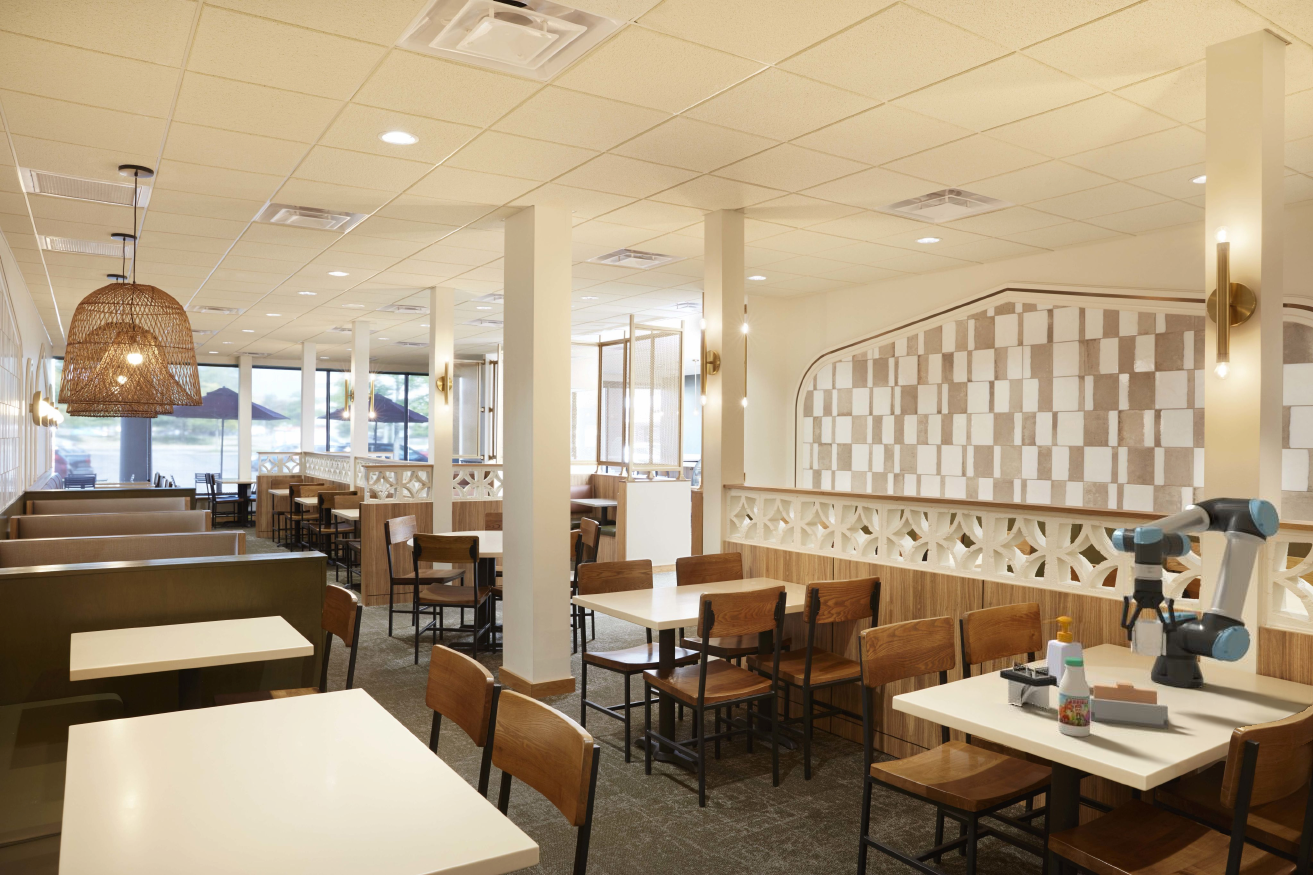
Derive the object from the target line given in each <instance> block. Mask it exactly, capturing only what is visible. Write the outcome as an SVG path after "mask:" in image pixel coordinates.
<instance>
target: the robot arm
mask: <svg viewBox="0 0 1313 875" xmlns="http://www.w3.org/2000/svg"><path fill="white" fill-rule="evenodd" d="M1279 526H1280V518H1279V513H1278V512H1277V508H1276V507H1275V506H1274V504H1272V503H1271V502H1270V501H1268V500H1265V499H1257V498H1237V497H1236V498H1235V497H1215V498H1209V499H1206V500H1202V501H1199V502H1196V503H1193V504H1189V505H1187V506H1186V507H1184V508H1183V510H1182V511H1180V512H1177V513H1174V514H1171V515H1168V516H1165V517H1162V518H1160V519H1156V520H1154V521H1151V522H1148V523H1144V524H1143V525H1140V526H1137V527H1134V528H1127V527H1126V528H1125V527H1124V528H1118V529H1116V530H1114V532H1113V533H1112V537H1111V540H1112V541H1111V542H1112V546H1113V548H1114V549H1115V550H1117V551H1119V552H1123V553H1130V554H1131V553H1132V554H1134V568H1133V569H1134V571H1133V572H1134V574H1133V575H1134V576H1135V578H1134V581H1133V582H1134V584H1133V585H1134V586H1133V587H1134V588H1133V589H1134V591H1133V593H1132V594H1127V595H1126V594H1124V595H1122V600H1123V607H1122V612H1121V619H1120V624H1119V625H1120V627H1121V628H1122V629H1125V630H1126V639H1127V641H1128V642H1130V652H1131V653H1133V654H1135V653H1136V652H1135V631H1134V625H1135V621H1137V619H1139V616H1140V614H1141V612H1142V611H1143V609H1144V610H1145V609H1150V610H1154V611H1155V613H1156V616H1157V617H1156V618H1157V619H1156V620H1158V621H1160V622H1161V623H1163V637H1162V646H1161V655H1160V656H1156V658H1155V661H1154V663H1153V666H1152V668H1151V672H1150V680H1152V681H1153V682H1155V683H1157V684H1162V685H1167V686H1171V687H1177V686H1178V688H1190V687H1192V688H1201V687H1204V685H1205V683H1204V682H1205V681H1204V676H1203V673H1202V670H1201V667H1200V664H1199V661H1198V656H1201V657H1205V658H1210V659H1214V660H1217V661H1220V662H1222V661H1223V662H1230V663H1233V662H1234V663H1235V662H1238V661H1239V660H1241V659H1243V658H1244V657H1245V656H1246V654H1247V653H1248V650H1249V649H1250V646H1251V638H1250V637H1251V634H1250V632H1249V630H1248V629H1247V628H1246V622H1245V621H1244V620H1243V618H1242V614H1243V610H1244V606H1245V602H1246V598H1247V594H1248V592H1249V591H1248V590H1249V586H1250V582H1251V578H1252V574H1253V570H1254V566H1255V563H1256V558H1257V554H1258V551H1259V548H1260V547H1262V546H1263V545H1265V544H1266V542H1267V539H1268V537H1269V538H1270V537H1273V536H1275V535H1276V534H1277V532H1278V531H1279ZM1205 532H1218V533H1223V536H1224V537H1225V539H1226V545H1225V547H1224V548H1225V549H1224V552H1223V556H1222V559H1221V560H1222V561H1221V564H1220V568H1219V572H1218V575H1217V580H1216V583H1215V586H1214V591H1213V595H1212V598H1211V603H1210V607H1209V609H1207V610H1205V611H1203V612H1202V616H1201V618H1199V616H1198V614H1197V612H1189V611H1188V612H1185V611H1184V612H1183V611H1181V612H1180V611H1178V612H1177V611H1175V609H1174V605H1175V598H1172V597H1166V596H1164V593H1163V592H1164V590H1163V586H1164V585H1163V584H1164V583H1163V580H1162V578H1163V577H1164V576H1163V560H1164V559H1163V558H1180V557H1185V556H1187V555H1189V553H1190V552H1191V549H1192V543H1191V539H1190V538H1189V536H1188V535H1189V534H1192V533H1195V534H1200V533H1205ZM1132 600H1134V601H1135V602H1136V606H1135V609H1134V611H1133V614H1132V615H1131V617H1130V619H1129V621H1128V616H1129V609H1130V603H1131V602H1133V601H1132ZM1163 602H1164V603H1165V605H1167V606H1166V607H1167V612H1162V610H1161V607H1160V605H1161V604H1162V603H1163ZM1127 622H1128V623H1127Z"/></svg>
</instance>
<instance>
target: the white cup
mask: <svg viewBox="0 0 1313 875" xmlns="http://www.w3.org/2000/svg"><path fill="white" fill-rule="evenodd" d="M1133 630H1134V631H1135V653H1136V654H1138V655H1141V656H1146V657H1157V656H1160V655H1161V646H1162V637H1163V623H1161V622H1160V621H1158V620H1157V619H1150V618H1138V619H1137V621H1135V625H1134V627H1133Z"/></svg>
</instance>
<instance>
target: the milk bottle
mask: <svg viewBox="0 0 1313 875" xmlns="http://www.w3.org/2000/svg"><path fill="white" fill-rule="evenodd" d="M1084 663H1085V661H1084V658H1083V659H1080V658H1075V657H1067V658H1065V666H1066V670H1065V673H1064V676H1063V678H1062V680H1061V682H1060V685H1059V686H1058V696H1057V697H1058V704H1057V705H1058V706H1057V707H1058V711H1057V712H1058V716H1057V717H1058V719H1057V720H1058V721H1057V722H1058V723H1057V725H1058V726H1057V727H1058V731H1059V732H1060V733H1061V734H1064V735H1067V736H1072V737H1088V736H1089V735H1090V734H1091V719H1090V700H1091V696H1090V695H1091V694H1090V693H1091V692H1090V687H1089V684H1088V682H1087V680H1086V676H1085V677H1084V674H1083V668H1084V669H1085V664H1084ZM1083 665H1084V667H1083Z"/></svg>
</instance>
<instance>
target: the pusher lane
mask: <svg viewBox="0 0 1313 875" xmlns="http://www.w3.org/2000/svg"><path fill="white" fill-rule="evenodd" d="M1168 714H1169V708H1168V705H1164V704H1157V705H1156V704H1146V703H1136V702H1126V701H1116V700H1106V699H1096V698H1094V697H1090V722H1091V721H1092V722H1101V723H1111V724H1119V725H1128V726H1135V727H1136V726H1139V727H1146V728H1157V729H1164V728H1167V729H1169V715H1168ZM1167 729H1166V730H1167Z"/></svg>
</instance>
